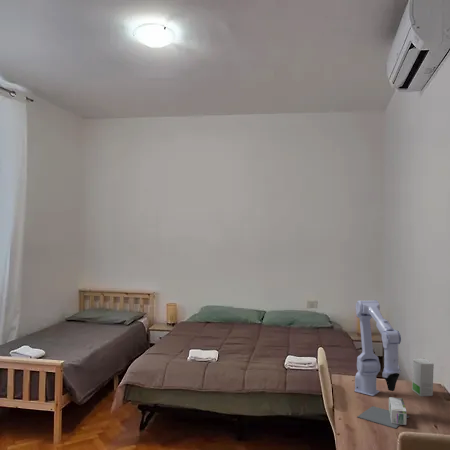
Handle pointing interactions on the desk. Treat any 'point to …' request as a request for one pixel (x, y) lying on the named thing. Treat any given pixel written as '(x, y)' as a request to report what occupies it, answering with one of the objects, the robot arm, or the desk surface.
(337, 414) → the desk surface
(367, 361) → the robot arm
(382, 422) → the mat
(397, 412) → the syrup box
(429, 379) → the skincare box
